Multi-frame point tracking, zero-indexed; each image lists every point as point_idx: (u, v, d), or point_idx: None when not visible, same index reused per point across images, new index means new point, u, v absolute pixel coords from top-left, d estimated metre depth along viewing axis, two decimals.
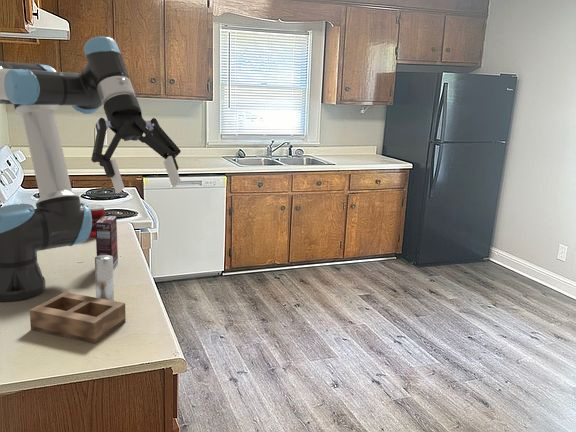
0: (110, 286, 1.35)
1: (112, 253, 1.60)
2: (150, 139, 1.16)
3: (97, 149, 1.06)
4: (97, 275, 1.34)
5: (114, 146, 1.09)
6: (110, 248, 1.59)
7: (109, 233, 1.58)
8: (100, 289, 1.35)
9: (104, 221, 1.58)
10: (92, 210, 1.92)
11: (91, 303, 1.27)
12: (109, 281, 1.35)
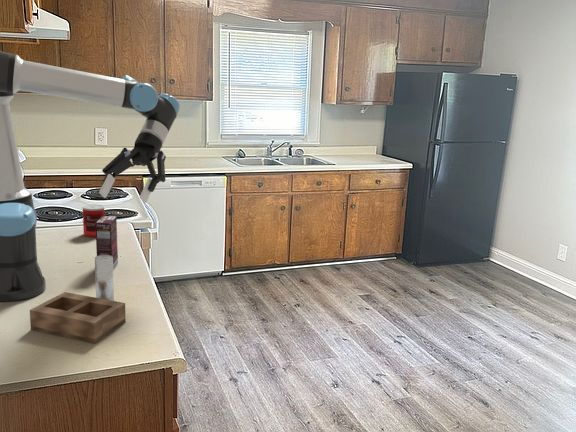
0: (110, 286, 1.35)
1: (112, 253, 1.60)
2: (128, 166, 1.54)
3: None
4: (97, 275, 1.34)
5: None
6: (110, 248, 1.59)
7: (109, 233, 1.58)
8: (100, 289, 1.34)
9: (104, 221, 1.58)
10: (92, 210, 1.92)
11: (91, 303, 1.27)
12: (109, 281, 1.35)
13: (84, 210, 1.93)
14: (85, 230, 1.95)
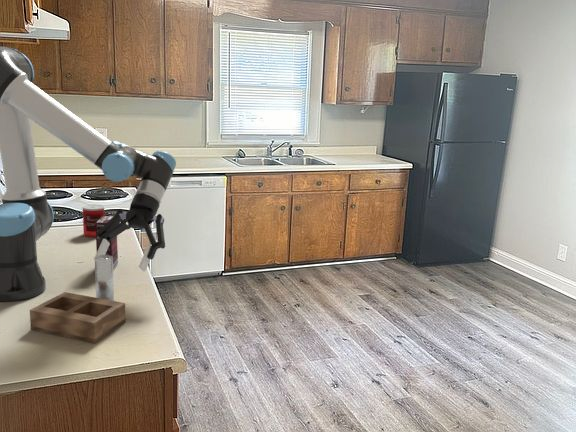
0: (110, 286, 1.35)
1: (112, 253, 1.60)
2: (124, 229, 1.46)
3: None
4: (97, 275, 1.34)
5: None
6: (110, 248, 1.59)
7: None
8: (100, 289, 1.35)
9: (104, 221, 1.58)
10: (92, 210, 1.92)
11: (91, 303, 1.27)
12: (109, 281, 1.35)
13: (84, 210, 1.93)
14: (85, 230, 1.95)
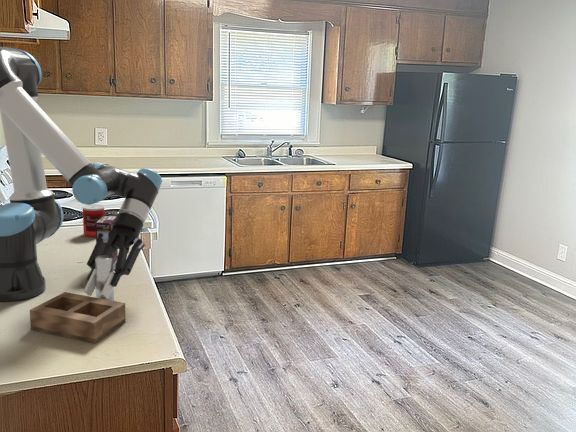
0: None
1: (112, 253, 1.60)
2: (111, 253, 1.41)
3: None
4: (97, 275, 1.34)
5: None
6: None
7: None
8: (100, 289, 1.34)
9: (104, 221, 1.58)
10: (92, 210, 1.92)
11: (91, 303, 1.27)
12: None
13: (84, 210, 1.93)
14: (85, 230, 1.95)
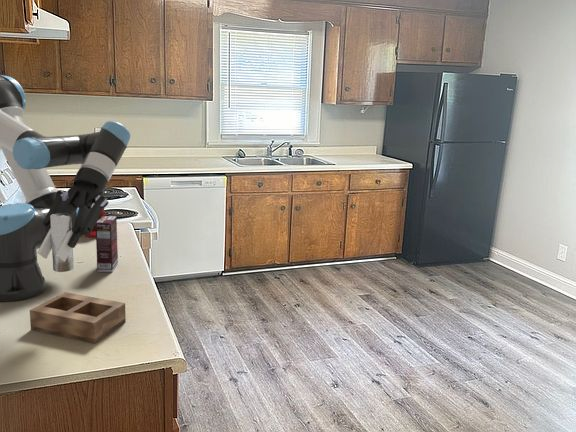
0: None
1: (112, 253, 1.60)
2: (71, 212, 1.26)
3: None
4: (53, 235, 1.19)
5: None
6: (110, 248, 1.59)
7: (109, 233, 1.58)
8: (56, 250, 1.20)
9: (104, 221, 1.58)
10: None
11: (91, 303, 1.27)
12: None
13: None
14: None
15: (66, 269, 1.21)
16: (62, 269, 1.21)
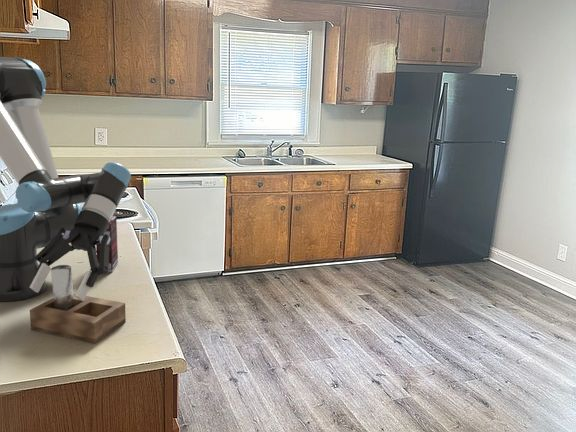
0: (69, 299, 1.23)
1: (112, 253, 1.60)
2: (67, 251, 1.29)
3: None
4: (54, 288, 1.22)
5: None
6: (110, 248, 1.59)
7: (109, 233, 1.58)
8: (58, 303, 1.23)
9: None
10: None
11: (91, 303, 1.27)
12: (67, 294, 1.23)
13: None
14: None
15: None
16: None
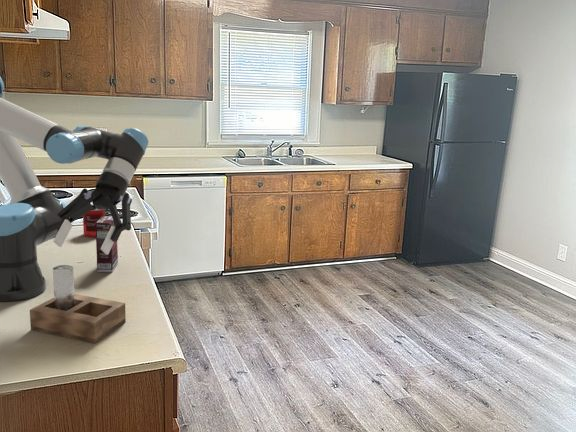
0: (70, 299, 1.24)
1: (112, 253, 1.60)
2: (88, 210, 1.35)
3: None
4: (55, 287, 1.22)
5: None
6: None
7: None
8: (59, 302, 1.23)
9: (104, 221, 1.58)
10: (92, 210, 1.92)
11: (91, 303, 1.27)
12: (68, 294, 1.23)
13: None
14: (85, 230, 1.95)
15: None
16: None
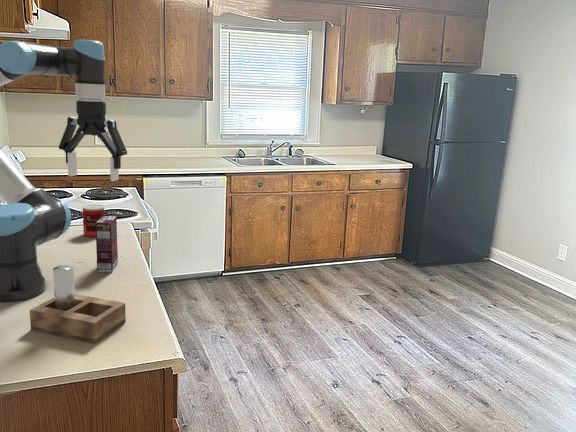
0: (70, 299, 1.24)
1: (112, 253, 1.60)
2: (82, 136, 1.45)
3: None
4: (56, 287, 1.22)
5: None
6: (110, 248, 1.59)
7: (109, 233, 1.58)
8: (59, 302, 1.23)
9: (104, 221, 1.58)
10: (92, 210, 1.92)
11: (91, 303, 1.27)
12: (69, 294, 1.23)
13: (84, 210, 1.93)
14: (85, 230, 1.95)
15: None
16: None
